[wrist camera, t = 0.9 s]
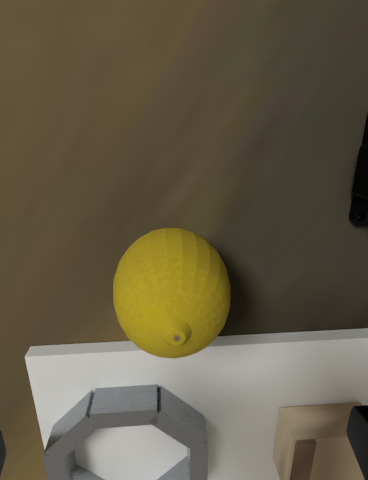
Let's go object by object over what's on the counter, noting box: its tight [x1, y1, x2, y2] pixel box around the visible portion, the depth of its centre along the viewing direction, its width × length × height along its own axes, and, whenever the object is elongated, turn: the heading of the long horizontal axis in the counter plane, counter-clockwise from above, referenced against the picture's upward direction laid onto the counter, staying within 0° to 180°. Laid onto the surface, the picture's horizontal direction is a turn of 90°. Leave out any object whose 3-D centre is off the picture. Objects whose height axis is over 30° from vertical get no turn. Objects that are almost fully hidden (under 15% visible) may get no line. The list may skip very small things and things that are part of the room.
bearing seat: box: [43, 384, 208, 480], centre depth 22 cm, size 10×10×2 cm
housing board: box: [25, 328, 368, 480], centre depth 24 cm, size 24×16×1 cm
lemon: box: [113, 228, 230, 358], centre depth 16 cm, size 6×6×8 cm
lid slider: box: [273, 402, 365, 480], centre depth 23 cm, size 6×5×3 cm
